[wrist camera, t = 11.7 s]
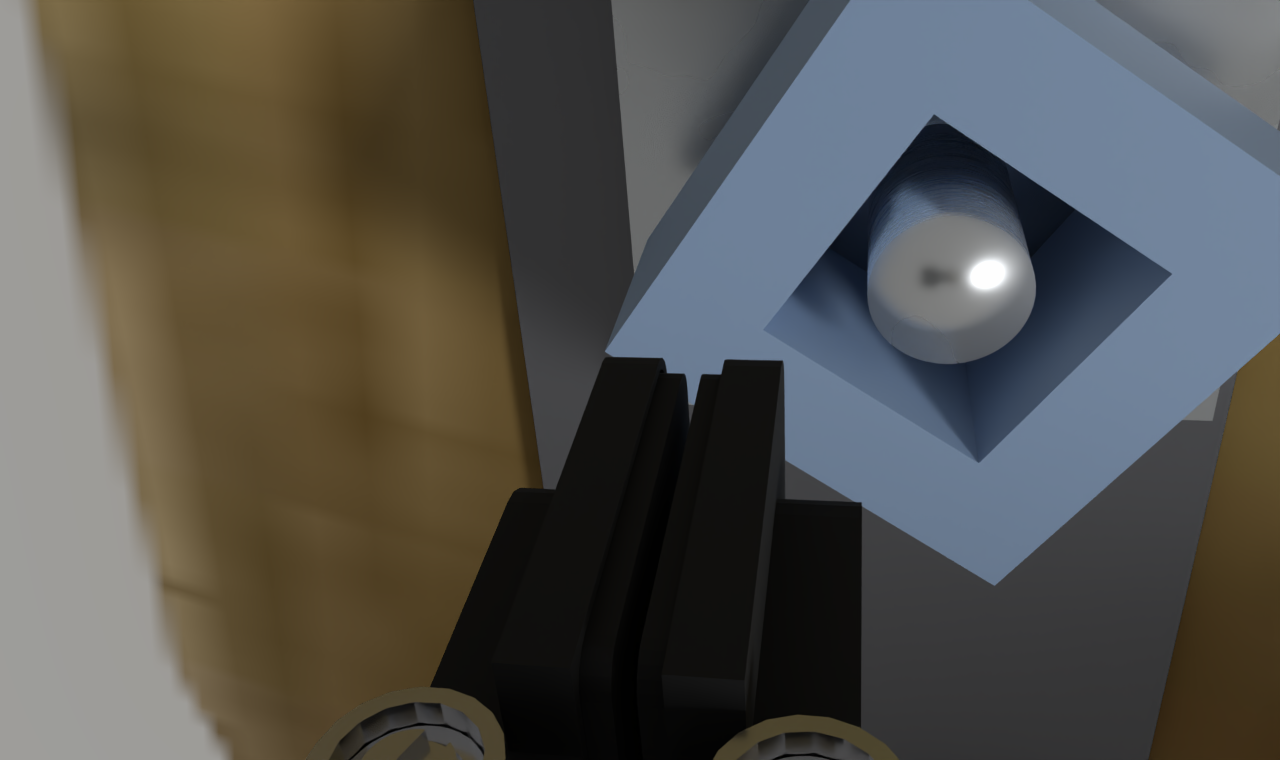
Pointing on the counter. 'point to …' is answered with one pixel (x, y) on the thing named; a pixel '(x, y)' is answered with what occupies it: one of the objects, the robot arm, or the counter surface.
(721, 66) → the hub
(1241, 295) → the square hole block
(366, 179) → the counter surface
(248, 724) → the counter surface
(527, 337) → the bench mat
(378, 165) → the counter surface
